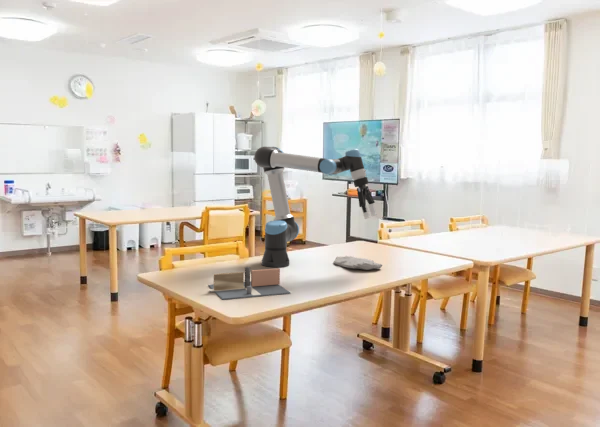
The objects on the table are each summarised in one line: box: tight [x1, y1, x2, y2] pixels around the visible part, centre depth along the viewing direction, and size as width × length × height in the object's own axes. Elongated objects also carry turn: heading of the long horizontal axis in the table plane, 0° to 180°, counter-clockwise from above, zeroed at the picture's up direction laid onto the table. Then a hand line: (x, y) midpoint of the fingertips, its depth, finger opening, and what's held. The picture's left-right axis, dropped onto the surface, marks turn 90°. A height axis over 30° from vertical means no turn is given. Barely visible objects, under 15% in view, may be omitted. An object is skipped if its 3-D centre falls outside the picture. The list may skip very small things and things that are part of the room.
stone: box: [333, 255, 383, 271], centre depth 282 cm, size 18×5×30 cm
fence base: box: [213, 266, 251, 290], centre depth 229 cm, size 2×16×9 cm, turn 113°
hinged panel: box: [250, 267, 281, 287], centre depth 235 cm, size 2×13×7 cm, turn 113°
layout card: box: [208, 280, 291, 301], centre depth 230 cm, size 24×32×4 cm
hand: (371, 217), depth 275 cm, fingers open, 13 cm apart
